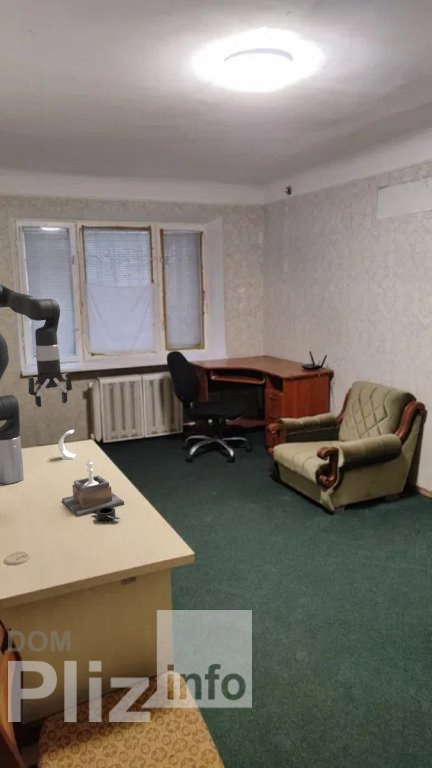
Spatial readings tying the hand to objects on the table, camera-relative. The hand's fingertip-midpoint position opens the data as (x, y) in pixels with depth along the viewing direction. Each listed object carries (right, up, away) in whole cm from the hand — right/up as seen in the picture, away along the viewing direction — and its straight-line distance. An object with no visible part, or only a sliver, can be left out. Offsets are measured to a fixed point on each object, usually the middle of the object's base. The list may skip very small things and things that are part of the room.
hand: (51, 404), depth 186 cm
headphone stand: (-8, -25, +49) cm, 56 cm away
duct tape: (+22, -36, -15) cm, 45 cm away
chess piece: (+14, -28, -3) cm, 31 cm away
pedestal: (+15, -33, -2) cm, 36 cm away
